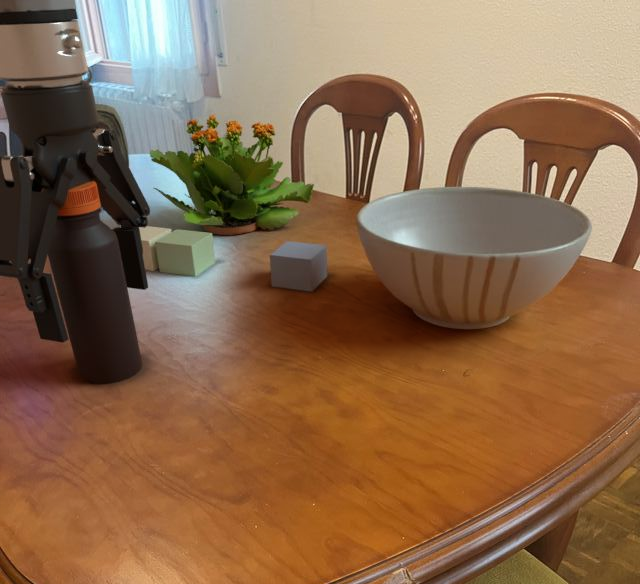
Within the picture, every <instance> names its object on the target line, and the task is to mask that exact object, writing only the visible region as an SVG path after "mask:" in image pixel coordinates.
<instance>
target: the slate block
mask: <svg viewBox="0 0 640 584" xmlns="http://www.w3.org/2000/svg"><path fill="white" fill-rule="evenodd" d="M269 265H270V280H271V287H274V288H281V289H289V290H296V291H304V292H314V290H315V289H316V288H317V287H319V285H321V283H322V282H323V281H324V280H325V279H326V278H327V277H328V246H327V245H326V244H320V243H319V244H318V243H309V242H301V241H300V242H299V241H292V240H291V241H289V240H287V241H286V242H284V243H283V244H282V245H280V246H279V247H278V248H276V249H275V250H274V251H273V252H272V253H270V254H269Z"/></svg>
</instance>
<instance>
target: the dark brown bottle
mask: <svg viewBox="0 0 640 584" xmlns="http://www.w3.org/2000/svg"><path fill="white" fill-rule="evenodd" d="M42 192H46V191H45V190H44V189H43V188H42ZM101 212H102V207H101V204H100V199H99V194H98V189H97V184H96V182H95V181H90V182H88V183H85V184H83V185H80V186H78V187H75V188H72V189H70V190H68V194H67V198H66V202H65V204H64V206H62V207H61V208H60V209H59V211H58V215H57V219H56V223H55V227H54V231H53V235H52V239H51V243H50V247H49V251H48V254H47V258H48V262H49V266H50V269H51V274H52V278H53V282H54V283H55V284H54V286H55V289H56V293H57V297H58V301H59V305H60V309H61V312H62V316H63V320H64V324H65V328H66V332H67V335H68V339H69V341H70V346H71V349H72V354H73V357H74V361H75V364H76V369H77V372H78V377H79V378H80V379H81V380H82V381H83V382H86V383H88V384H94V385H111V384H115V383H116V384H117V383H121V382H124V381H126V380H129V379H130V378H133V377H134V376H136V375H137V374H138V373H139V372H141V370H142V368H143V361H142V354H141V351H140V346H139V345H140V344H139V340H138V335H137V329H136V325H135V321H134V314H133V310H132V305H131V299H130V295H129V290H128V289H129V288H127V284H126V279H125V273H124V268H123V263H122V258H121V253H120V248H119V243H118V238H117V235H116V233H115V231H113V230H112V229H113V228H111V227H110V226H108V225H107V224H106V223H105V222H104V221H102V220H101V217H100V214H101Z"/></svg>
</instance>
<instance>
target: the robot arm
mask: <svg viewBox="0 0 640 584" xmlns="http://www.w3.org/2000/svg"><path fill="white" fill-rule="evenodd" d="M88 67H89V66H88V62H87V58H86V52H85V47H84V43H83V37H82V32H81V28H80V24H79V16H78V12H77V4H76V0H0V81H4V84H5V86H3V87H2V88H1V91H0V96H1V99H2V103H3V107H4V112H5V115H6V119H7V123H8V126H9V129H10V131H11V132H12V133H13V134H14V135H16V136H17V137H18V139H19V140H20V143H21V155H2V154H0V277H6V278H14V279H17V281H18V283H19V286H20V289H21V293H22V296H23V300H24V303H25V306H26V307H25V308H27V310H28V311H30V312H32V314H33V315H32V316H33V317H34V322H35V325H36V328H37V332H38V335H39V338H40V339H41V340H45V341H52V342H57V343H65V342H66V341H68V340H69V334H68V331H67V327H66V323H65V319H64V316H63V312H62V308H61V304H60V301H59V297H58V293H57V289H56V286H55V284H54V283H55V282H54V278H53V274H52V273H47V272H44V271H45V266H46V262H47V258H48V251H49V247H50V243H51V239H52V235H53V231H54V227H55V223H56V219H57V215H58V211H59V209H60V208H61V207H62V206H64V204H65V202H66V198H67V194H68V190H70V189H72V188H75V187H78V186H80V185H83V184H85V183H88V182H90V181H95V182H96V184H97V189H98V194H99V199H100V204H101V207H100V208H101V209H103V211H104V212H106V214H108V216H109V217H110V218H111V219H112V220H113V221H114V222H115V224H117V226H115V227H114V228H111V229H112V230H113V231H115V233H116V235H117V238H118V243H119V248H120V253H121V258H122V263H123V268H124V273H125V279H126V284H127V289H134V290H142V291H146V290H147V289H149V283H148V278H147V273H146V272H147V270H145V266H144V260H143V247H142V241H141V235H140V230H139V227H142V228H145V227H146V226H148V223H149V221H148V216H150V213H151V208H150V205H149V203H148V201H147V199H146V197H145V196H144V194H143V192H142V190H141V188H140V186H139V184H138V182H137V180H136V178H135V176H134V174H133V172H132V170H131V168H130V165H129V166H128V164H127V162H126V160H125V158H124V157H123V155H122V153H121V149H120V145H119V141H118V137H117V134H116V132H115V130H113V129H95V128H96V127H97V126H98V124H99V119H98V114H97V109H96V104H97V103H96V99H95V95H94V89H93V85H91V84H90V83H89V82H87V80H83V77H84V76H85V75H87V74H88V73H89V72H88ZM42 188H43V189H44V190H45V191H46V192H42ZM29 261H30V263H28V262H29Z"/></svg>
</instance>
